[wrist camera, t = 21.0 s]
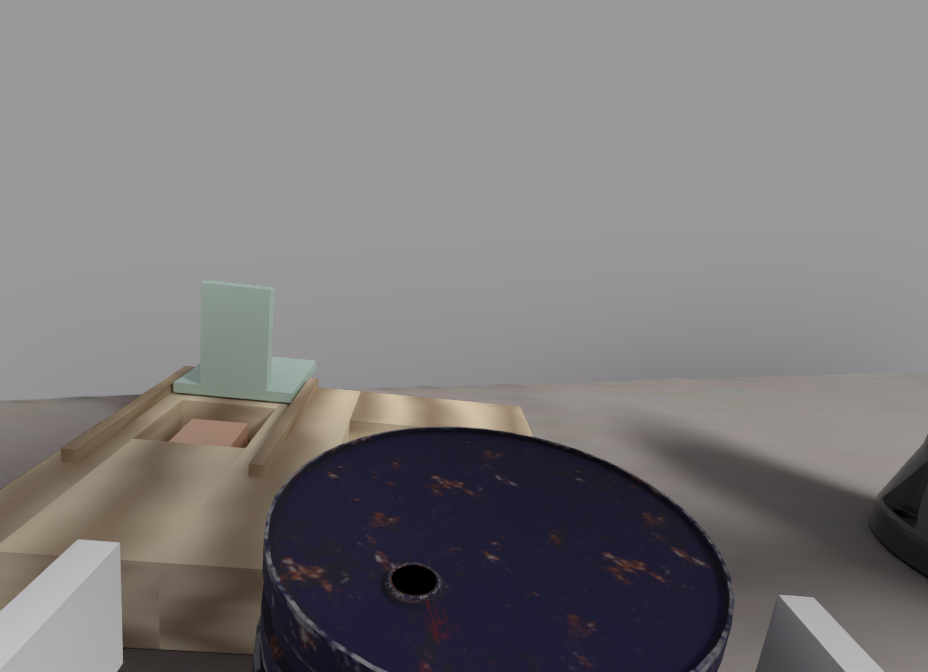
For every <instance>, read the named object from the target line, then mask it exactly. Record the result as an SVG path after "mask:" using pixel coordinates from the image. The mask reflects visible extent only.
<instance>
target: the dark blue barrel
mask: <svg viewBox="0 0 928 672" xmlns="http://www.w3.org/2000/svg"><path fill="white" fill-rule="evenodd" d="M262 573H263V581H264V584H263V592H262V601H261V615H260V618H259V621H258V624H257V629H256V637H255V646H254V654H253V672H717V670H718V668H719V666H720V664H721V661H722V658H723V655H724V651H725V647H726V644H727V640H728V636H729V633H730V629H731V625H732V617H733V609H734V595H733V589H732V583H731V578H730V575H729V572H728V570H727V568H726V565H725V563H724V561H723V558H722V556H721V554H720V553H719V551H718V550H717V548H716V547H715V545H714V544H713V542H712V541H711V539H710V538H709V536H708V535H707V533H706V532H705V531H704V530H703V529H702V528H701V527H700V526H699V525H698V524H697V523H696V521H695V520H694V519H693V518H692V517H691V516H690V515H689V514H688V513H687V512H685V511H684V510H683V509H682V508H681V507H680V506H678V505H677V504H676V503H675V502H674V501H673V500H671V499H670V498H669V497H667V496H666V495H665V494H663V493H662V492H660V491H659V490H657V489H656V488H655V487H653V486H652V485H650V484H649V483H647V482H645V481H643V480H642V479H640V478H638V477H637V476H635V475H633V474H631V473H630V472H628V471H626V470H624V469H622V468H620V467H618V466H616V465H613V464H611V463H609V462H607V461H605V460H603V459H600V458H598V457H595V456H593V455H590V454H588V453H585V452H583V451H580V450H577V449H574V448H571V447H568V446H565V445H562V444H558V443H555V442H551V441H548V440H544V439H540V438H536V437H532V436H527V435H522V434H516V433H511V432H506V431H498V430H490V429H483V428H468V427H422V428H408V429H401V430H394V431H387V432H382V433H378V434H373V435H369V436H365V437H361V438H358V439H355V440H352V441H349V442H346V443H343V444H341V445H338V446H336V447H334V448H332V449H330V450H328V451H325V452H323V453H321V454H320V455H318V456H317V457H315V458H313V459H312V460H310V461H309V462H307V463H305V464H304V465H303V466H301V467H300V468H299V469H298V470H297V471H296V472H295V473H294V474H293V475H291V476H290V477H289V478H288V479H287V480H286V482H285V483H284V484H283V486H282V487H281V488H280V490H279V491H278V492H277V494H276V495H275V497H274V499H273V501H272V504H271V506H270V509H269V511H268V513H267V516H266V524H265V532H264V543H263V569H262Z"/></svg>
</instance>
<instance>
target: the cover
mask: <svg viewBox="0 0 928 672" xmlns="http://www.w3.org/2000/svg"><path fill="white" fill-rule="evenodd" d="M274 291H275V288H274V287H265V286H256V285H246V284H238V283H227V282H219V281H210V280H207V281H204V282H201V361H200V364H199V365H198V366H196V367H195V368H193V369H192V370H190V371H189V372H188V373H186V374H185V375H183V376H182V377H180V378H179V379H178V380H176V381H175V382H173V391H174V392H177V393H188V394H199V395H210V396H221V397H232V398H243V399H253V400H264V401H275V402H286V403H292V402H293V400H294V399H295V397H296V396H297V395H298V393H299V392H300V390H301V389H302V387H303V386H304V385H305V383H306V382H307V380H308V379H309V378H310V377H311V375H312V374H313V372H314V371H315V369H316V361H312V360H302V359H291V358H281V357H272V343H273V341H272V340H273V318H274V317H273V316H274V293H275V292H274Z"/></svg>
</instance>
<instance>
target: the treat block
mask: <svg viewBox="0 0 928 672" xmlns="http://www.w3.org/2000/svg"><path fill="white" fill-rule="evenodd" d="M169 442H177V443H189V444H201V445H213V446H225V447H236V448H246V447H247V446H248V423H239V422H227V421H215V420H202V419H192V420H191V421H190V422H189V423H187V424H186V425H185V426H184V427H183V428H182V429H181V430H180V431H179V432H178V433H177V434H176V435H175V436H174V437H173V438H172V439H171V440H170V441H169Z"/></svg>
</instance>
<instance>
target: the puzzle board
mask: <svg viewBox="0 0 928 672" xmlns="http://www.w3.org/2000/svg"><path fill="white" fill-rule="evenodd" d="M193 368H195V367H191V366H184V367H183V368H181V369H180V370H178V371H177V372H175V373H174V374H172V375H171V376H169V377H168V378H166V379H165V380H163V381H162V382H160V383H159V384H157V385H156V386H154V387H153V388H151V389H150V390H148V391H147V392H145V393H144V394H142V395H141V396H139V397H138V398H136V399H135V400H133V401H132V402H130V403H129V404H127V405H126V406H124V407H123V408H121V409H119V410H118V411H116V412H115V413H113V414H112V415H110V416H109V417H107V418H106V419H104V420H103V421H101V422H100V423H98V424H97V425H95V426H94V427H92V428H91V429H89V430H88V431H86V432H85V433H83V434H82V435H80V436H79V437H77V438H76V439H74V440H73V441H71V442H70V443H68V444H67V445H65V446H64V447H62V448H61V450H59V451H58V452H56V453H55V454H53V455H52V456H50V457H49V458H47V459H46V460H44V461H43V462H41V463H40V464H38V465H37V466H35V467H34V468H32V469H31V470H29V471H28V472H26V473H25V474H23V475H22V476H20V477H18V478H17V479H15V480H14V481H12V482H11V483H9V484H8V485H6V486H5V487H3V488H2V489H0V611H1V610H2V609H3V608H4V607H5V606H7V605H8V604H9V603H10V602H11V601H12V600H13V599H14V598H15V597H16V596H17V595H18V594H19V593H21V592H22V591H23V590H24V589H25V588H26V587H27V586H28V585H29V584H30V583H31V582H32V581H33V580H35V579H36V578H37V577H38V576H39V575H40V574H41V573H42V572H43V571H44V570H45V569H46V568H47V567H49V566H50V565H51V564H52V563H53V562H54V561H55V560H56V559H57V558H58V557H59V556H60V555H61V554H63V553H64V552H65V551H66V550H67V549H68V548H69V547H70V546H71V545H72V544H73V543H74V542H75V541H77V540H78V539H81V540H94V541H107V542H119V543H120V562H121V602H122V642H123V647H128V648H146V649H164V650H182V651H200V652H219V653H237V654H254V646H255V637H256V629H257V624H258V621H259V618H260V615H261V601H262V592H263V584H264V581H263V573H262V569H263V543H264V532H265V524H266V516H267V513H268V511H269V509H270V506H271V504H272V501H273V499H274V497H275V495H276V494H277V492H278V491H279V490H280V488H281V487H282V486H283V484H284V483H285V482H286V480H287V479H288V478H289V477H290V476H291V475H293V474H294V473H295V472H296V471H297V470H298V469H299V468H300V467H301V466H303V465H304V464H305V463H307V462H309V461H310V460H312V459H313V458H315V457H317V456H318V455H320V454H321V453H323V452H325V451H328V450H330V449H332V448H334V447H336V446H338V445H341V444H343V443H346V442H349V441H352V440H355V439H358V438H361V437H365V436H369V435H373V434H378V433H382V432H387V431H394V430H401V429H408V428H422V427H468V428H483V429H490V430H498V431H506V432H511V433H516V434H522V435H527V436H532V433H531V431H530V429H529V426H528V424H527V421H526V419H525V417H524V414H523V412H522V410H521V407H519V406H509V405H498V404H488V403H477V402H466V401H456V400H445V399H435V398H424V397H414V396H403V395H392V394H382V393H371V392H361V391H350V390H339V389H329V388H318V380H319V379H316V378H309V379H308V380H307V382H306V383H305V385H304V386H303V387H302V389H301V390H300V392H299V393H298V395H297V396H296V397H295V399H294V400H293V402H292V403H286V402H275V401H264V400H253V399H243V398H232V397H221V396H210V395H199V394H188V393H177V392H174V391H173V382H175V381H176V380H178V379H179V378H180V377H182V376H183V375H185V374H186V373H188V372H189V371H190V370H192V369H193ZM192 419H202V420H215V421H227V422H239V423H248V446H247V447H246V448H236V447H225V446H213V445H201V444H189V443H177V442H169V441H170V440H171V439H172V438H173V437H174V436H175V435H176V434H177V433H178V432H179V431H180V430H181V429H182V428H183V427H184V426H185V425H186V424H187V423H189V422H190V421H191V420H192ZM532 437H533V436H532Z"/></svg>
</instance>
